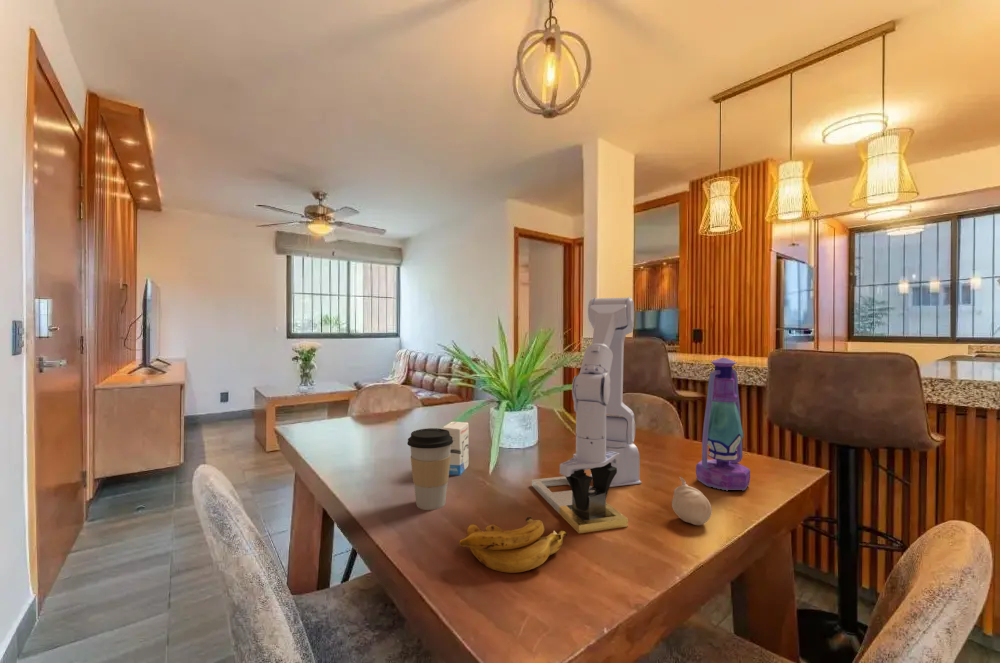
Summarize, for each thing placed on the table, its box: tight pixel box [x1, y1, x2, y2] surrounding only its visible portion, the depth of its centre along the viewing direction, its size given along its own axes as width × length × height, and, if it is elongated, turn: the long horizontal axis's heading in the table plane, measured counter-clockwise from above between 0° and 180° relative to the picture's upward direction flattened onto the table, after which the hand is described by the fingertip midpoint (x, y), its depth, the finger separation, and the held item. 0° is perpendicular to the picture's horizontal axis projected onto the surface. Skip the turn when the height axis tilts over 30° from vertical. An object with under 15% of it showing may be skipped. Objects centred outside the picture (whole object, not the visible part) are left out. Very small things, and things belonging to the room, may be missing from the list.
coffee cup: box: [407, 427, 453, 511], centre depth 89 cm, size 9×9×15 cm
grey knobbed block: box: [572, 485, 607, 521], centre depth 84 cm, size 4×4×6 cm
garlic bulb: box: [671, 475, 713, 526], centre depth 82 cm, size 7×6×8 cm
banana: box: [459, 516, 568, 574], centre depth 71 cm, size 15×19×6 cm
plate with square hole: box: [531, 475, 629, 535], centre depth 90 cm, size 10×24×2 cm, turn 16°
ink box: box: [442, 421, 470, 476], centre depth 111 cm, size 9×5×12 cm, turn 168°
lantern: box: [695, 357, 751, 492], centre depth 102 cm, size 13×12×30 cm
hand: (590, 505), depth 83 cm, fingers closed on grey knobbed block, 4 cm apart
